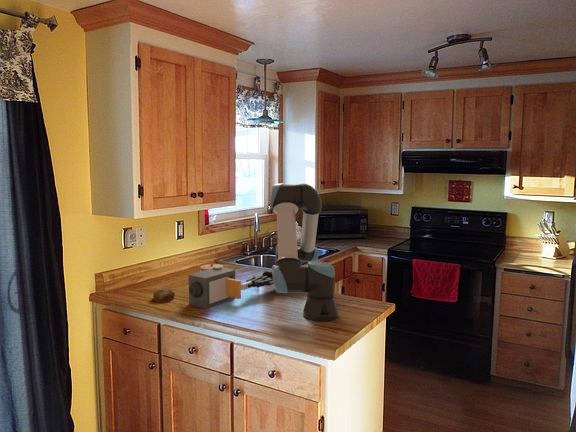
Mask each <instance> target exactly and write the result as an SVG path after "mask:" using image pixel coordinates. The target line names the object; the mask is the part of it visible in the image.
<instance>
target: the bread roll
mask: <svg viewBox="0 0 576 432" xmlns="http://www.w3.org/2000/svg"><path fill="white" fill-rule="evenodd" d="M152 296H153V297H152V300H153V301H154V302H156V303H166V301H167V302H171V301H173V300H174V299H175V292H174V290H173V289H172V288H170V287H168V286H159V287H157V288H156V289H155V290H154V291H153V295H152Z"/></svg>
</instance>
